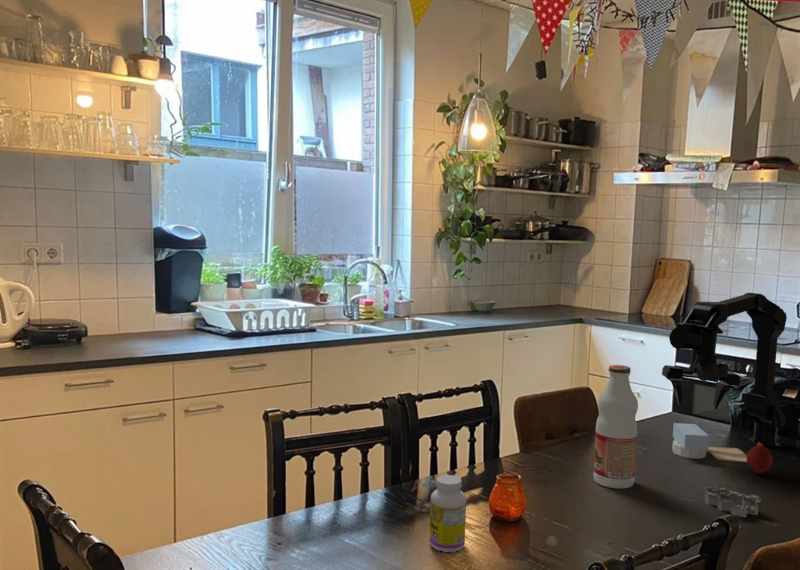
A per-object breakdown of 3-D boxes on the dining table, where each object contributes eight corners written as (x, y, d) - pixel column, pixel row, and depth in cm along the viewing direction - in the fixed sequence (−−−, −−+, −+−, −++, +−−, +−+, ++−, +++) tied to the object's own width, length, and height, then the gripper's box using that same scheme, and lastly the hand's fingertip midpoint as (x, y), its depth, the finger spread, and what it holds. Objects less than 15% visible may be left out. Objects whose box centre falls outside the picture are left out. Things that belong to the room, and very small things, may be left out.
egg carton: (763, 516, 147) (765, 498, 147) (736, 521, 144) (738, 502, 144) (724, 497, 157) (725, 480, 157) (698, 501, 154) (699, 483, 154)
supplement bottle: (427, 538, 132) (429, 472, 131) (461, 537, 132) (463, 472, 131) (431, 554, 125) (433, 486, 124) (467, 554, 126) (470, 485, 125)
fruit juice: (623, 492, 158) (630, 372, 155) (585, 481, 164) (591, 366, 162) (640, 482, 164) (647, 367, 162) (604, 472, 171) (610, 361, 168)
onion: (765, 470, 175) (767, 439, 175) (775, 478, 170) (778, 447, 169) (741, 469, 176) (744, 438, 175) (751, 477, 170) (753, 445, 170)
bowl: (668, 447, 192) (669, 438, 192) (700, 449, 191) (700, 440, 191) (677, 457, 183) (678, 447, 183) (710, 459, 183) (711, 449, 182)
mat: (704, 447, 193) (704, 446, 193) (737, 449, 192) (737, 448, 192) (717, 460, 182) (717, 459, 182) (753, 462, 181) (753, 461, 181)
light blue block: (672, 437, 193) (673, 423, 192) (694, 438, 192) (695, 424, 192) (684, 449, 182) (685, 434, 181) (707, 450, 181) (708, 436, 181)
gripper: (675, 349, 176) (668, 409, 177) (751, 357, 174) (744, 418, 175) (664, 344, 188) (658, 400, 188) (736, 351, 185) (729, 408, 186)
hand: (697, 407), depth 184 cm, fingers open, 9 cm apart
